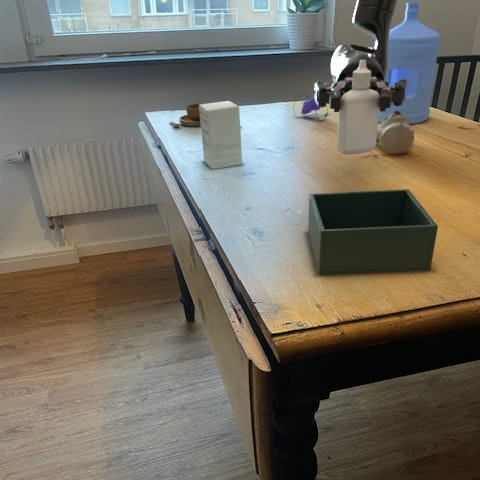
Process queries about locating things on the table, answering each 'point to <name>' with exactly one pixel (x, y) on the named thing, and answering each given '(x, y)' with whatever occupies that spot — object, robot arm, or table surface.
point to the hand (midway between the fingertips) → (360, 103)
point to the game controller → (310, 107)
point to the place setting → (190, 116)
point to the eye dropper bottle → (358, 115)
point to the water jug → (412, 65)
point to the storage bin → (370, 232)
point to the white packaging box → (221, 134)
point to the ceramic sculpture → (395, 134)
